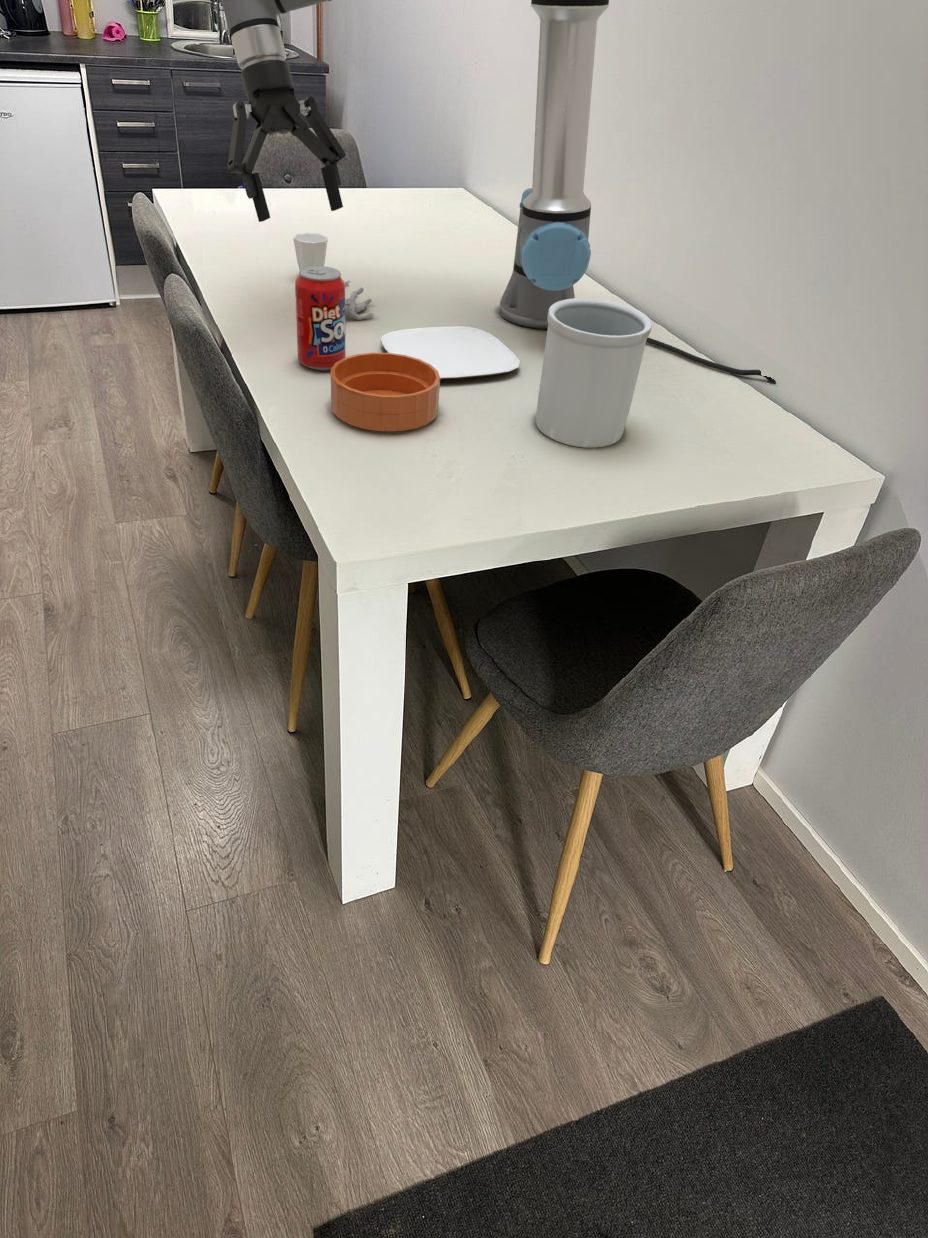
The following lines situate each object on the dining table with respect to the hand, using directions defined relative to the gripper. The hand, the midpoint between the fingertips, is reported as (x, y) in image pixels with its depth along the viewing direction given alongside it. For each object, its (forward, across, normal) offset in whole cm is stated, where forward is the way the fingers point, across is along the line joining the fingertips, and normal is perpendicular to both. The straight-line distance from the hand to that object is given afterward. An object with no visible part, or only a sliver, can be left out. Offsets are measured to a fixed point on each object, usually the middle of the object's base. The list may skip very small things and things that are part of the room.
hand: (301, 214), depth 141 cm
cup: (+7, -18, -35) cm, 40 cm away
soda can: (+23, +4, +1) cm, 24 cm away
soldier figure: (+16, -14, -15) cm, 26 cm away
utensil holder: (+40, -17, +37) cm, 57 cm away
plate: (+27, -16, +9) cm, 33 cm away
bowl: (+31, +6, +19) cm, 37 cm away
